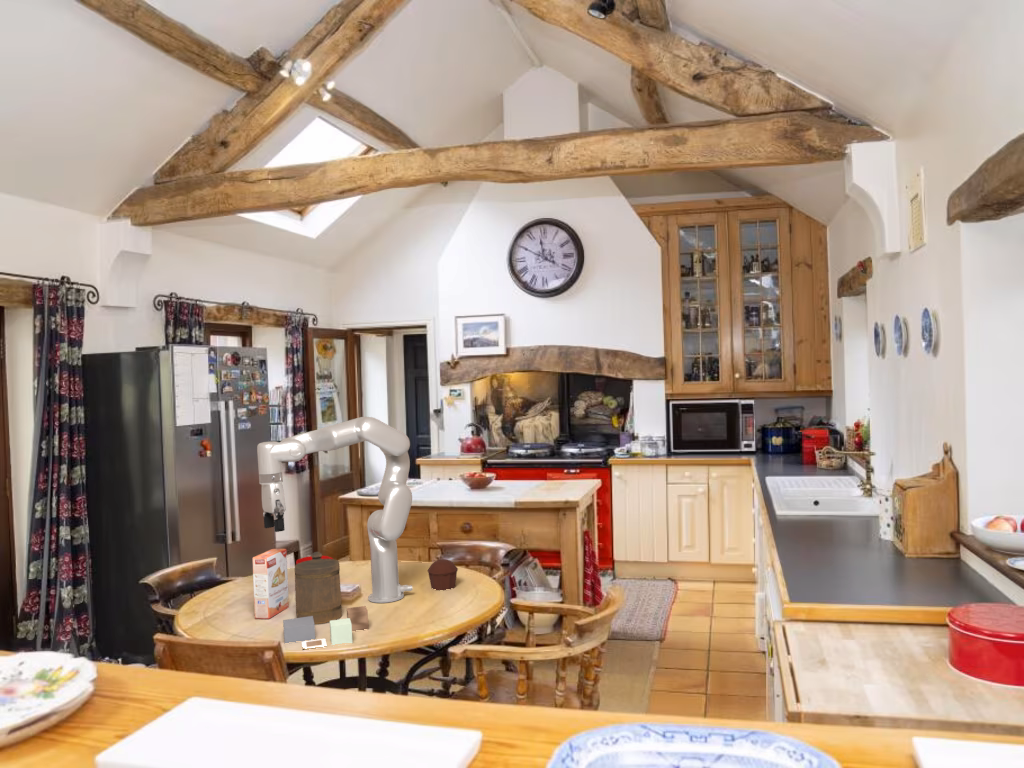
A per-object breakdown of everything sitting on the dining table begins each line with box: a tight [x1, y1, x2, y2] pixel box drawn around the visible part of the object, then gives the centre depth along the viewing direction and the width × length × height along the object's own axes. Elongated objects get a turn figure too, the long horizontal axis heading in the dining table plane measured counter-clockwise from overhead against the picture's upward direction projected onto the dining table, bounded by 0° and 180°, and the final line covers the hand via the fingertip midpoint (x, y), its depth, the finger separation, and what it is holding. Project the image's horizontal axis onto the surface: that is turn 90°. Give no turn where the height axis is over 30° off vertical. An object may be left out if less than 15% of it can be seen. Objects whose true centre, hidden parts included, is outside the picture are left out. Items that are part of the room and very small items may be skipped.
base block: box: [282, 616, 316, 644], centre depth 244 cm, size 9×9×5 cm
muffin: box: [427, 558, 459, 591], centre depth 294 cm, size 12×11×10 cm
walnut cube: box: [346, 605, 369, 632], centre depth 250 cm, size 6×6×6 cm
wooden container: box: [294, 551, 343, 625], centre depth 263 cm, size 15×15×22 cm
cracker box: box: [252, 548, 290, 620], centre depth 271 cm, size 14×6×21 cm, turn 168°
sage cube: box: [329, 617, 353, 646], centre depth 238 cm, size 6×6×6 cm
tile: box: [301, 637, 328, 649], centre depth 236 cm, size 7×7×1 cm
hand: (274, 529), depth 265 cm, fingers open, 9 cm apart
